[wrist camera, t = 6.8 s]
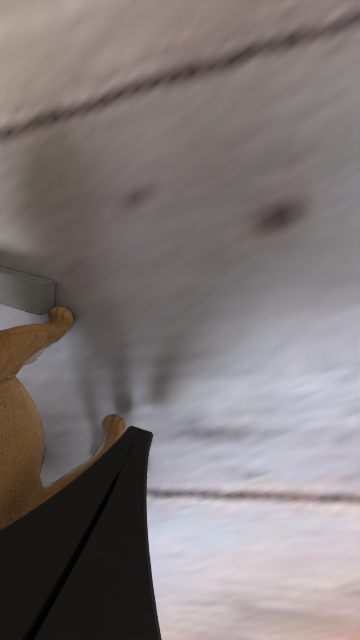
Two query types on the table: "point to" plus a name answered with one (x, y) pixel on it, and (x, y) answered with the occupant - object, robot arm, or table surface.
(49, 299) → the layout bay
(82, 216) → the table surface
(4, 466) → the lion figurine
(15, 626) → the robot arm
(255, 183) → the table surface
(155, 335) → the table surface
